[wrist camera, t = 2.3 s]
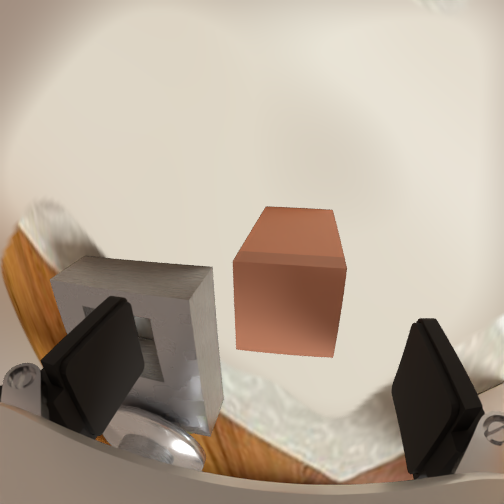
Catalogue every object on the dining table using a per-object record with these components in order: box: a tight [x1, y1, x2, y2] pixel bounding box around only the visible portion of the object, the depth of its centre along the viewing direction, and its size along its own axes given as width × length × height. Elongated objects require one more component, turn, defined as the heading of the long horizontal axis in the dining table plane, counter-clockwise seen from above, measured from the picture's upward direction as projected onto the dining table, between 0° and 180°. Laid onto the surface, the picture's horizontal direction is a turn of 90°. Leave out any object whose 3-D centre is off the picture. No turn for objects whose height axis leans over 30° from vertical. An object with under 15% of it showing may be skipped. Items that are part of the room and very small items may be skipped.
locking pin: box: [233, 207, 347, 358], centre depth 14 cm, size 4×4×8 cm
